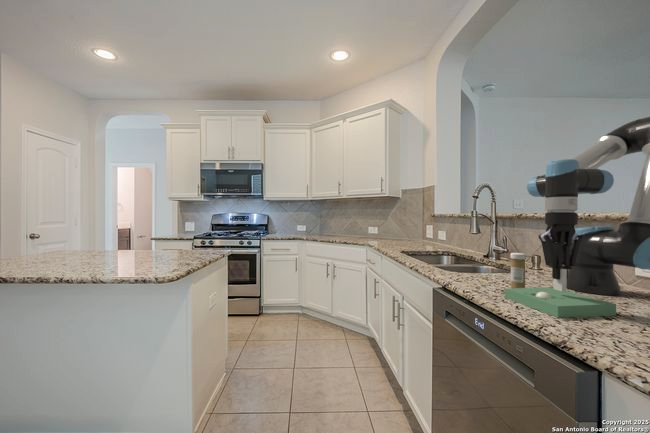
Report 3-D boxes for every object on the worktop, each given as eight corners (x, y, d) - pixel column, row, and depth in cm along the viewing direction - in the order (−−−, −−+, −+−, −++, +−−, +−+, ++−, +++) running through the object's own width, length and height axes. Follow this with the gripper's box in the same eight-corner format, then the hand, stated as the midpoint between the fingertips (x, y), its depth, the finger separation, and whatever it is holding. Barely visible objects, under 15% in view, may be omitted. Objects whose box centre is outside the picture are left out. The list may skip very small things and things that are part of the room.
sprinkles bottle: (527, 290, 99) (527, 253, 99) (522, 292, 97) (522, 254, 97) (513, 288, 103) (513, 252, 103) (507, 289, 100) (508, 252, 101)
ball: (532, 304, 84) (543, 302, 84) (544, 308, 80) (556, 306, 80) (531, 291, 84) (542, 289, 84) (543, 294, 80) (555, 293, 80)
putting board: (553, 296, 93) (553, 287, 93) (616, 315, 75) (616, 304, 75) (504, 297, 90) (504, 288, 90) (557, 317, 73) (557, 306, 73)
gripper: (553, 211, 78) (552, 293, 78) (593, 212, 80) (592, 293, 80) (530, 211, 86) (529, 287, 86) (567, 212, 87) (566, 286, 87)
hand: (559, 289), depth 83 cm, fingers closed
